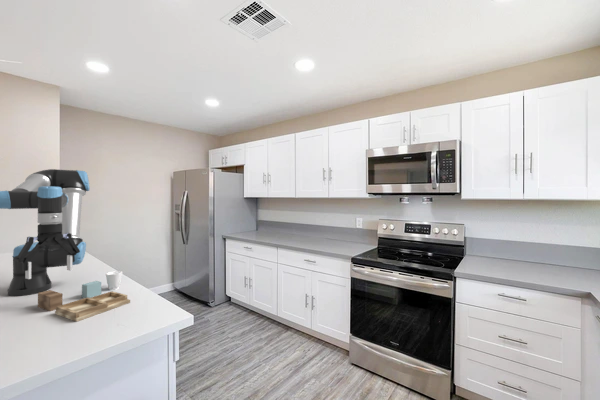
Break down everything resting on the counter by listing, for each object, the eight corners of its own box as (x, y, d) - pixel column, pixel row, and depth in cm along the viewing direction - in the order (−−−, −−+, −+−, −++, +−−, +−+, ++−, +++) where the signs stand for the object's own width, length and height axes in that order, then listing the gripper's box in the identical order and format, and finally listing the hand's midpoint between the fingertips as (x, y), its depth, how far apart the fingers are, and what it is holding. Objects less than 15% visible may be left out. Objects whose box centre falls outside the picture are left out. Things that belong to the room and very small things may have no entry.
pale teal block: (81, 297, 123) (81, 284, 123) (96, 293, 128) (96, 280, 128) (86, 298, 121) (87, 285, 121) (101, 294, 127) (101, 281, 127)
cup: (106, 292, 130) (106, 275, 129) (104, 286, 137) (104, 271, 137) (123, 289, 134) (123, 273, 134) (120, 284, 142) (120, 268, 142)
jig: (55, 314, 105) (55, 306, 105) (109, 297, 123) (109, 290, 123) (76, 321, 99) (76, 313, 99) (130, 302, 117) (130, 295, 117)
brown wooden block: (37, 307, 112) (37, 292, 112) (49, 303, 115) (49, 290, 115) (50, 311, 108) (50, 296, 108) (62, 307, 111) (62, 293, 111)
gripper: (12, 226, 98) (12, 284, 98) (89, 221, 121) (89, 268, 121) (3, 225, 101) (3, 281, 101) (79, 220, 124) (79, 266, 124)
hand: (50, 274), depth 111 cm, fingers open, 13 cm apart
